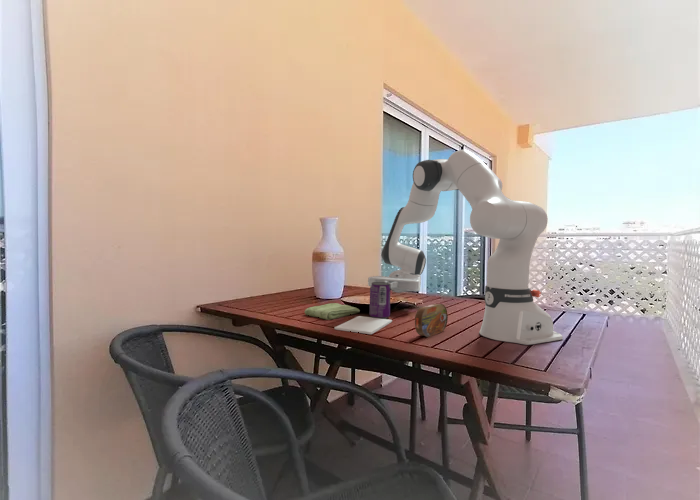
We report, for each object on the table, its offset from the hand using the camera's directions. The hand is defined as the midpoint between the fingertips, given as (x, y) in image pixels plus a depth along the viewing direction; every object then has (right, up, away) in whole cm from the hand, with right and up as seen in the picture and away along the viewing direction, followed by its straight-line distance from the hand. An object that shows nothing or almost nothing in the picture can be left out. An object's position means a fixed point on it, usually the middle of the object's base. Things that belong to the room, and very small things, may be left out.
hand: (387, 285), depth 137 cm
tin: (+10, -12, -27) cm, 31 cm away
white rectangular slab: (-9, -11, -19) cm, 24 cm away
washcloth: (-20, -11, -2) cm, 23 cm away
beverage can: (-4, -11, -7) cm, 13 cm away
